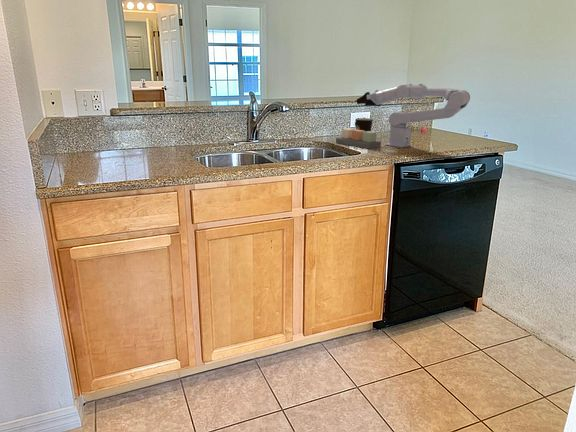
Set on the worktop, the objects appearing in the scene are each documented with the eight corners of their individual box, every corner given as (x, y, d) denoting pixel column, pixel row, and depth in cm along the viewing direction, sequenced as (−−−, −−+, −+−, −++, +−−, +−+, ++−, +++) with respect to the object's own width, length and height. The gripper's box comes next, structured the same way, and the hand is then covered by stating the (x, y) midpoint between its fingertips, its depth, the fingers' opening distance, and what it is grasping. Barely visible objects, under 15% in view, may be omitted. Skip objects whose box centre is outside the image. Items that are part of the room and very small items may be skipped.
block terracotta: (364, 139, 210) (365, 130, 209) (358, 140, 207) (359, 131, 206) (357, 138, 213) (357, 129, 212) (351, 139, 210) (352, 130, 209)
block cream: (354, 137, 214) (354, 129, 213) (348, 138, 212) (348, 129, 210) (347, 136, 218) (347, 128, 216) (341, 137, 215) (341, 128, 213)
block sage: (375, 141, 205) (376, 132, 204) (369, 142, 203) (370, 133, 201) (368, 140, 208) (368, 131, 207) (362, 141, 206) (362, 132, 204)
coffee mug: (372, 140, 223) (374, 120, 219) (355, 140, 223) (356, 120, 219) (369, 136, 233) (370, 117, 230) (352, 136, 234) (353, 117, 230)
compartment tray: (380, 146, 207) (380, 141, 206) (368, 148, 201) (368, 143, 200) (347, 140, 221) (348, 136, 220) (335, 142, 215) (336, 137, 214)
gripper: (392, 89, 212) (367, 96, 221) (377, 85, 201) (352, 92, 210) (393, 104, 213) (369, 110, 221) (379, 100, 201) (353, 107, 210)
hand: (361, 102), depth 216 cm, fingers open, 7 cm apart
